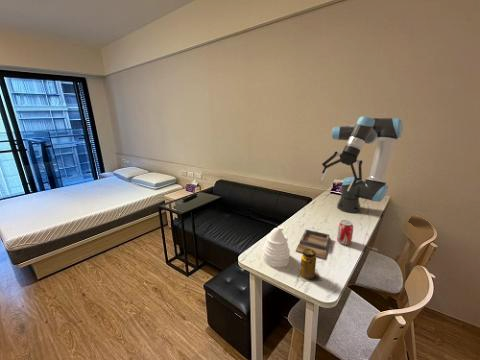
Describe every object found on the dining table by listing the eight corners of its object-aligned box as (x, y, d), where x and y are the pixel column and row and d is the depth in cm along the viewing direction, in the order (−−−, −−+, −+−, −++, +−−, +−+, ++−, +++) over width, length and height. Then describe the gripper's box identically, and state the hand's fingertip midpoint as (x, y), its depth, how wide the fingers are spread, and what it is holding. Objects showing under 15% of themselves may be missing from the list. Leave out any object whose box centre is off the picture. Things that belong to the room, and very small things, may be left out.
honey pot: (294, 257, 110) (295, 224, 104) (280, 271, 100) (282, 236, 95) (271, 247, 118) (272, 217, 112) (257, 260, 108) (257, 227, 103)
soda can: (334, 239, 124) (336, 219, 120) (346, 238, 125) (349, 219, 121) (340, 246, 117) (343, 226, 114) (353, 245, 118) (356, 225, 114)
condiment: (297, 269, 101) (299, 246, 98) (316, 269, 101) (318, 246, 98) (301, 281, 94) (303, 257, 91) (322, 281, 94) (324, 257, 91)
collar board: (304, 234, 131) (305, 228, 130) (330, 239, 124) (330, 234, 123) (295, 252, 114) (295, 246, 113) (324, 260, 108) (324, 254, 107)
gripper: (328, 137, 114) (310, 175, 118) (380, 155, 104) (359, 196, 107) (330, 140, 121) (313, 175, 125) (379, 157, 110) (359, 195, 114)
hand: (334, 185), depth 116 cm, fingers open, 13 cm apart
